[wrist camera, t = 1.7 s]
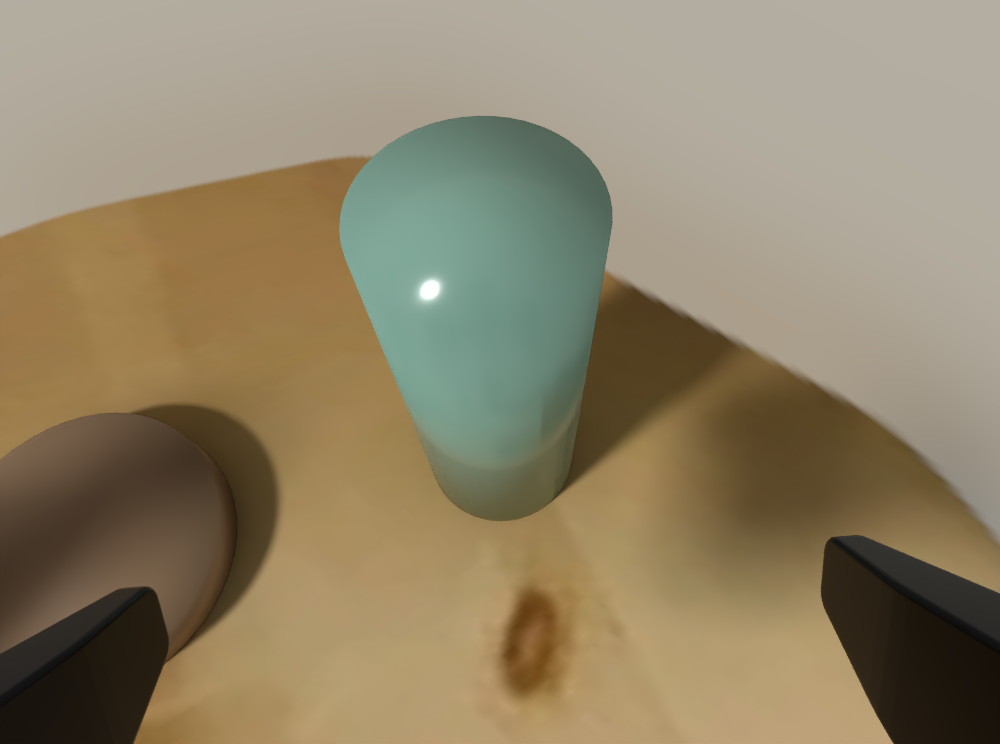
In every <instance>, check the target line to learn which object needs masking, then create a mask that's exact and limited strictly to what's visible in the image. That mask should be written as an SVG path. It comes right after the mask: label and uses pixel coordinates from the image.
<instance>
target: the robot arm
mask: <svg viewBox="0 0 1000 744" xmlns="http://www.w3.org/2000/svg"><path fill="white" fill-rule="evenodd" d="M821 598H822V602H823V606H824V608H825V611H826V613H827V615H828V617H829V619H830V621H831V623H832V625H833V627H834V629H835V631H836V633H837V636H838V638H839V640H840V642H841V644H842V646H843V648H844V650H845V652H846V654H847V656H848V658H849V660H850V662H851V664H852V666H853V669H854V671H855V673H856V675H857V677H858V679H859V681H860V683H861V685H862V687H863V689H864V691H865V693H866V695H867V697H868V699H869V701H870V703H871V705H872V707H873V709H874V711H875V713H876V715H877V717H878V718H879V720H880V722H881V723H882V725H883V727H884V729H885V730H886V732H887V734H888V735H889V737H890V739H891V740H892V742H893V744H1000V593H998V592H995V591H993V590H990V589H988V588H986V587H983V586H981V585H979V584H976V583H974V582H971V581H969V580H967V579H964V578H962V577H959V576H957V575H955V574H952V573H950V572H948V571H945V570H943V569H940V568H938V567H936V566H933V565H931V564H929V563H926V562H924V561H921V560H919V559H917V558H914V557H912V556H909V555H907V554H905V553H902V552H900V551H898V550H895V549H893V548H890V547H888V546H886V545H883V544H881V543H878V542H876V541H874V540H871V539H869V538H867V537H864V536H860V535H852V536H839V537H831V538H830V539H829V540H828V541H827V543H826V545H825V549H824V560H823V571H822V581H821ZM168 650H169V635H168V631H167V627H166V624H165V620H164V617H163V613H162V609H161V606H160V602H159V599H158V596H157V593H156V592H155V590H154V589H153V588H151V587H149V586H142V587H128V588H120V589H117V590H115V591H113V592H111V593H110V594H108V595H106V596H104V597H102V598H100V599H99V600H97V601H95V602H93V603H91V604H90V605H88V606H86V607H84V608H82V609H80V610H79V611H77V612H75V613H73V614H71V615H70V616H68V617H66V618H64V619H62V620H60V621H59V622H57V623H55V624H53V625H51V626H50V627H48V628H46V629H44V630H42V631H40V632H39V633H37V634H35V635H33V636H31V637H30V638H28V639H26V640H24V641H22V642H20V643H19V644H17V645H15V646H13V647H11V648H10V649H8V650H6V651H4V652H2V653H0V744H134V741H135V739H136V736H137V733H138V731H139V728H140V726H141V723H142V720H143V718H144V715H145V713H146V710H147V707H148V705H149V702H150V700H151V697H152V694H153V692H154V689H155V687H156V684H157V681H158V679H159V676H160V674H161V671H162V668H163V666H164V663H165V661H166V658H167V655H168Z"/></svg>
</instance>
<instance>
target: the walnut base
mask: <svg viewBox="0 0 1000 744" xmlns="http://www.w3.org/2000/svg"><path fill="white" fill-rule="evenodd" d="M236 536H237V518H236V511H235V503H234V499H233V496H232V493H231V489H230V487H229V484H228V482H227V480H226V478H225V476H224V474H223V473H222V471H221V470H220V468H219V467H218V465H217V464H216V462H215V461H214V460H213V459H212V458H211V457H210V456H209V455H208V454H207V453H206V452H205V451H203V450H202V449H201V448H200V447H198V446H197V445H196V444H195V443H193V442H192V441H191V440H189V439H188V438H187V437H186V436H184V435H183V434H182V433H180V432H179V431H178V430H176V429H175V428H173V427H171V426H169V425H167V424H165V423H163V422H162V421H159V420H156V419H153V418H150V417H147V416H142V415H136V414H129V413H105V414H96V415H90V416H85V417H80V418H77V419H74V420H70V421H67V422H64V423H61V424H59V425H57V426H54V427H52V428H49V429H47V430H45V431H43V432H41V433H39V434H38V435H36V436H34V437H32V438H30V439H28V440H27V441H25V442H24V443H22V444H21V445H19V446H18V447H16V448H15V449H13V450H12V451H11V452H9V453H8V454H7V455H6V456H4V457H3V458H2V459H1V460H0V653H2V652H4V651H6V650H8V649H10V648H11V647H13V646H15V645H17V644H19V643H20V642H22V641H24V640H26V639H28V638H30V637H31V636H33V635H35V634H37V633H39V632H40V631H42V630H44V629H46V628H48V627H50V626H51V625H53V624H55V623H57V622H59V621H60V620H62V619H64V618H66V617H68V616H70V615H71V614H73V613H75V612H77V611H79V610H80V609H82V608H84V607H86V606H88V605H90V604H91V603H93V602H95V601H97V600H99V599H100V598H102V597H104V596H106V595H108V594H110V593H111V592H113V591H115V590H117V589H120V588H128V587H142V586H149V587H151V588H153V589H154V590H155V592H156V593H157V596H158V599H159V602H160V606H161V609H162V613H163V617H164V620H165V624H166V627H167V631H168V635H169V650H168V655H167V658H166V661H167V660H169V659H170V658H171V657H172V656H174V655H175V654H176V653H177V652H178V651H179V650H180V649H181V648H182V647H183V646H184V645H185V644H186V643H187V642H188V641H189V640H190V638H191V637H192V636H193V635H194V633H195V632H196V631H197V630H198V629H199V627H200V626H201V625H202V624H203V622H204V621H205V619H206V617H207V616H208V614H209V613H210V611H211V610H212V608H213V607H214V605H215V603H216V601H217V599H218V597H219V595H220V593H221V591H222V589H223V587H224V584H225V582H226V579H227V577H228V574H229V571H230V568H231V564H232V560H233V556H234V551H235V544H236ZM166 661H165V662H166Z"/></svg>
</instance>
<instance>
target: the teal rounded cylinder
mask: <svg viewBox="0 0 1000 744" xmlns="http://www.w3.org/2000/svg"><path fill="white" fill-rule="evenodd" d="M611 228H612V205H611V200H610V195H609V192H608V189H607V186H606V184H605V181H604V180H603V178H602V176H601V174H600V172H599V170H598V169H597V168H596V167H595V165H594V164H593V163H592V161H591V160H590V159H589V158H588V157H587V156H586V155H585V154H584V153H583V152H582V151H581V150H580V149H579V148H578V147H576V146H575V145H574V144H572V143H571V142H570V141H569V140H567V139H565V138H564V137H562V136H560V135H558V134H557V133H555V132H553V131H551V130H548V129H546V128H544V127H542V126H538V125H536V124H532V123H529V122H526V121H522V120H517V119H512V118H505V117H496V116H471V117H460V118H454V119H448V120H444V121H440V122H436V123H433V124H429V125H426V126H424V127H421V128H418V129H416V130H414V131H411V132H409V133H407V134H405V135H404V136H401V137H399V138H398V139H396V140H395V141H393V142H392V143H390V144H388V145H387V146H386V147H384V148H383V149H382V150H381V151H379V152H378V153H377V154H375V155H374V156H373V157H372V158H371V159H370V160H369V161H368V162H367V163H366V164H365V166H364V167H363V168H362V169H361V171H360V172H359V173H358V175H357V176H356V177H355V179H354V181H353V182H352V184H351V186H350V188H349V190H348V192H347V194H346V197H345V199H344V202H343V206H342V210H341V214H340V227H339V231H340V241H341V246H342V250H343V253H344V257H345V259H346V262H347V264H348V267H349V269H350V271H351V274H352V276H353V279H354V281H355V284H356V286H357V288H358V291H359V293H360V296H361V298H362V301H363V303H364V305H365V308H366V310H367V313H368V315H369V318H370V320H371V322H372V325H373V327H374V330H375V332H376V335H377V337H378V339H379V342H380V344H381V347H382V349H383V352H384V354H385V356H386V359H387V361H388V364H389V366H390V369H391V371H392V374H393V376H394V378H395V381H396V383H397V386H398V388H399V391H400V393H401V395H402V398H403V400H404V403H405V405H406V408H407V410H408V412H409V415H410V417H411V420H412V422H413V425H414V427H415V429H416V432H417V434H418V437H419V439H420V442H421V444H422V446H423V449H424V451H425V454H426V456H427V459H428V461H429V463H430V466H431V468H432V471H433V473H434V476H435V478H436V480H437V482H438V485H439V486H440V488H441V490H442V491H443V493H444V494H445V495H446V496H447V497H448V499H449V500H450V501H451V502H452V503H454V504H455V505H456V506H457V507H459V508H460V509H461V510H463V511H464V512H467V513H469V514H471V515H473V516H475V517H478V518H481V519H486V520H492V521H509V520H515V519H520V518H523V517H526V516H529V515H531V514H533V513H535V512H537V511H539V510H540V509H542V508H543V507H545V506H546V505H547V504H548V503H550V502H551V501H552V500H553V499H554V498H555V496H556V495H557V494H558V493H559V492H560V490H561V489H562V487H563V485H564V484H565V481H566V479H567V477H568V474H569V471H570V468H571V462H572V456H573V450H574V444H575V439H576V433H577V427H578V421H579V415H580V409H581V404H582V398H583V392H584V386H585V380H586V374H587V369H588V363H589V357H590V351H591V345H592V340H593V334H594V328H595V322H596V316H597V310H598V305H599V299H600V293H601V287H602V281H603V275H604V270H605V263H606V258H607V252H608V246H609V240H610V234H611Z"/></svg>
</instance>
